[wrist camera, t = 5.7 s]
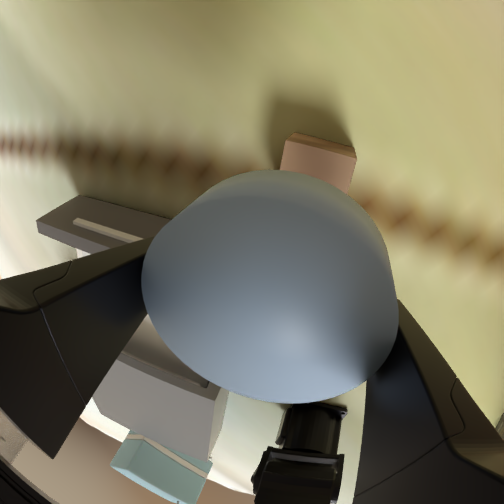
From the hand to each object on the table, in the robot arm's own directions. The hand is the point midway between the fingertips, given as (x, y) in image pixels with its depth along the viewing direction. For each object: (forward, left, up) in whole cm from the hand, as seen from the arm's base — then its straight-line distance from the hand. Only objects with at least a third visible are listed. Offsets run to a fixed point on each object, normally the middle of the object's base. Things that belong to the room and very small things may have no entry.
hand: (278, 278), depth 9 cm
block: (0, 0, -13) cm, 13 cm away
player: (+12, +30, -13) cm, 35 cm away
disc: (0, 0, 0) cm, 0 cm away
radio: (+12, +56, -13) cm, 59 cm away
